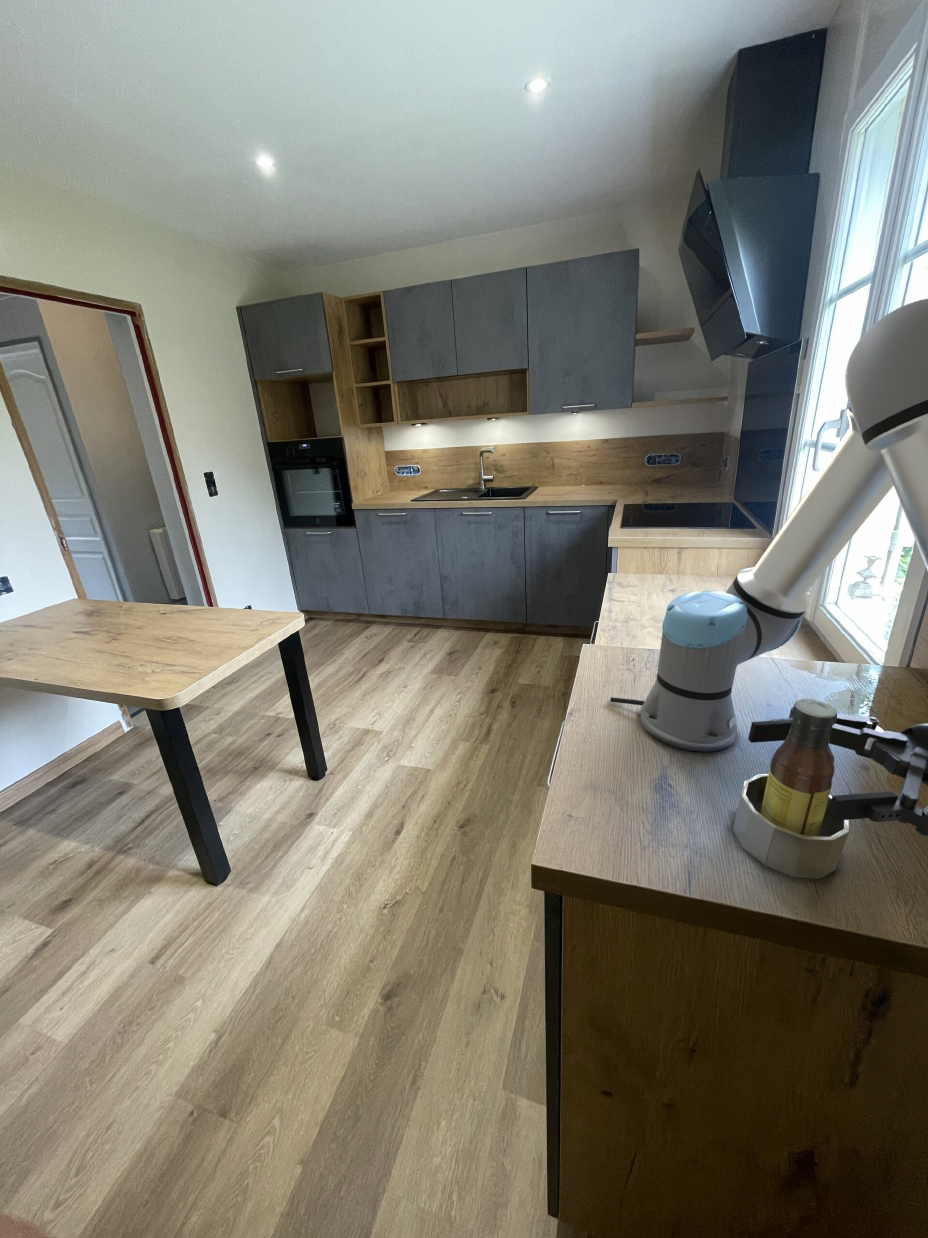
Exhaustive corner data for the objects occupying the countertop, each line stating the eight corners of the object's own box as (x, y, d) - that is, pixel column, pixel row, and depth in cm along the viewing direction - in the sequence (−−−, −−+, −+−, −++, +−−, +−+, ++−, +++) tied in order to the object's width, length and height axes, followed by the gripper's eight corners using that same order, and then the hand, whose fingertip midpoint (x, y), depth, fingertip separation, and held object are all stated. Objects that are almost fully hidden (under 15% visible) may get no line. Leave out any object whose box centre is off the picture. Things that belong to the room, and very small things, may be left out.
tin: (727, 850, 61) (736, 813, 58) (740, 798, 69) (748, 763, 67) (836, 895, 55) (850, 855, 52) (836, 831, 63) (848, 795, 61)
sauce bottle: (801, 826, 64) (840, 695, 56) (823, 865, 58) (869, 725, 51) (747, 819, 65) (778, 690, 58) (762, 856, 60) (798, 719, 52)
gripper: (1071, 864, 48) (867, 881, 47) (862, 721, 71) (722, 731, 70) (1106, 804, 45) (890, 822, 44) (876, 676, 68) (731, 685, 67)
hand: (787, 766), depth 57 cm, fingers open, 13 cm apart
